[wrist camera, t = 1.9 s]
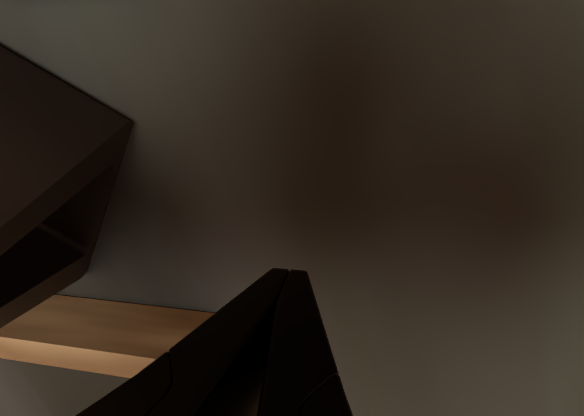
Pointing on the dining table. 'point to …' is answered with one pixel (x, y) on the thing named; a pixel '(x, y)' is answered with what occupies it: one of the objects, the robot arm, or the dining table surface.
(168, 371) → the robot arm
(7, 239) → the phone stand
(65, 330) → the reddish flat wooden frame
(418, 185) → the dining table surface
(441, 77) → the dining table surface
